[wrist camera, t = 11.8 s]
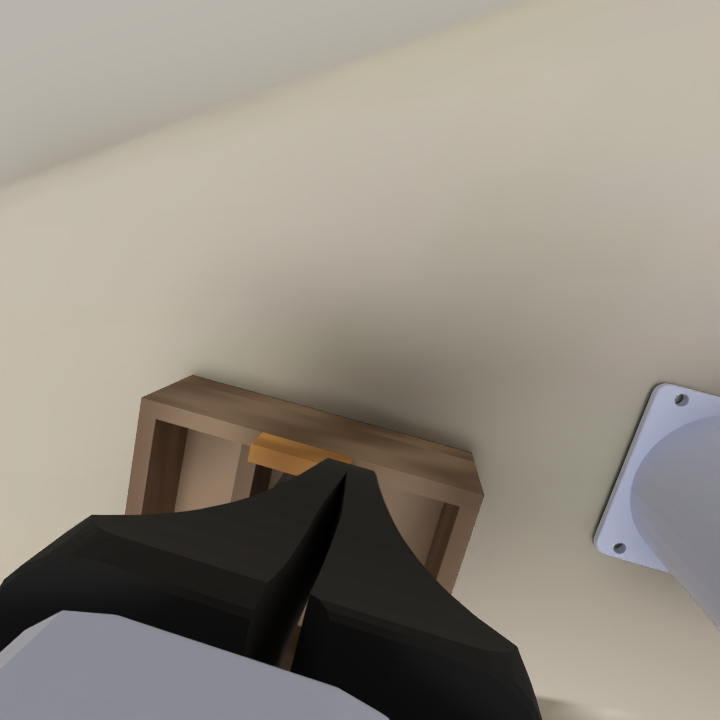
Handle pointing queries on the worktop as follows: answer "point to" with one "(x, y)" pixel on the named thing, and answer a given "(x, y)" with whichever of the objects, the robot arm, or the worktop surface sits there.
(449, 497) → the rack
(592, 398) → the worktop surface
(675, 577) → the robot arm
